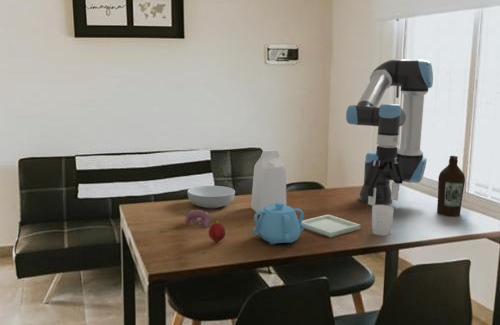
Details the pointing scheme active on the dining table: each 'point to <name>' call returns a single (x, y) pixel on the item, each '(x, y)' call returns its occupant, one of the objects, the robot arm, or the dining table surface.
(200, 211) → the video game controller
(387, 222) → the white cup
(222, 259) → the dining table surface
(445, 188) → the olive oil
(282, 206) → the decorative pot
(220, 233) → the onion
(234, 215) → the dining table surface
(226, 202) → the serving bowl
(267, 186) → the milk
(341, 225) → the tray
